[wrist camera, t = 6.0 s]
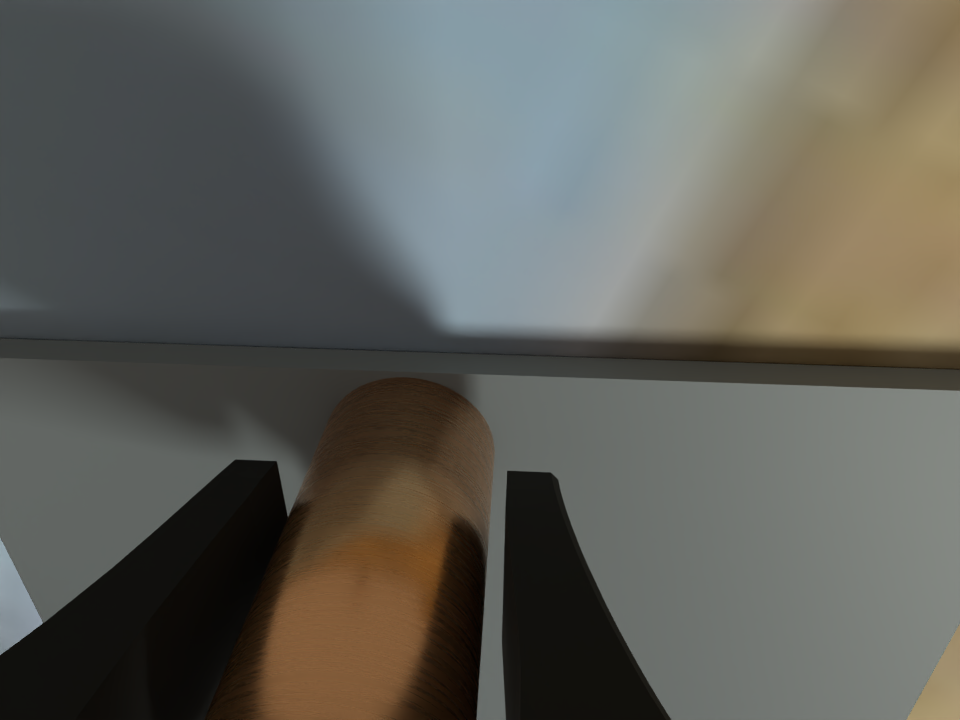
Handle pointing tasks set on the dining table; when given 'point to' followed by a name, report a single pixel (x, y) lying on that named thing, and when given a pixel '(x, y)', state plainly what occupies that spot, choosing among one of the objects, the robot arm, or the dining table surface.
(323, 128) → the dining table surface
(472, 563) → the lever
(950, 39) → the dining table surface
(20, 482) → the board
